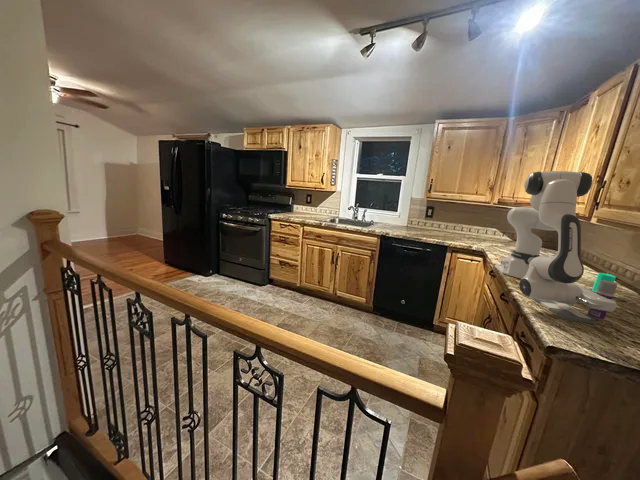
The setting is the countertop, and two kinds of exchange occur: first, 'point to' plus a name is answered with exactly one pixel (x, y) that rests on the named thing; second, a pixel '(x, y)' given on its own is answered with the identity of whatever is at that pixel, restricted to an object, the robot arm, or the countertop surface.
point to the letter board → (566, 311)
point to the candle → (603, 277)
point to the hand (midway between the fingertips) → (605, 297)
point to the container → (606, 291)
